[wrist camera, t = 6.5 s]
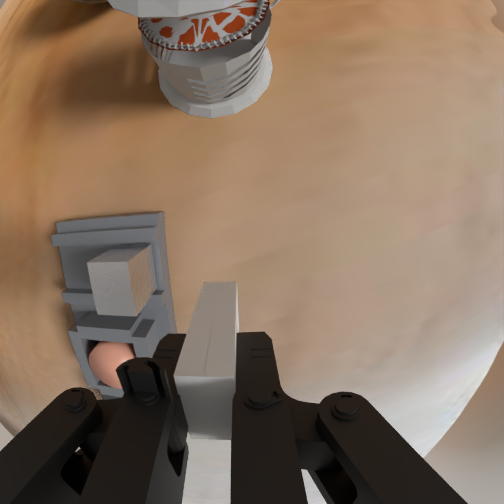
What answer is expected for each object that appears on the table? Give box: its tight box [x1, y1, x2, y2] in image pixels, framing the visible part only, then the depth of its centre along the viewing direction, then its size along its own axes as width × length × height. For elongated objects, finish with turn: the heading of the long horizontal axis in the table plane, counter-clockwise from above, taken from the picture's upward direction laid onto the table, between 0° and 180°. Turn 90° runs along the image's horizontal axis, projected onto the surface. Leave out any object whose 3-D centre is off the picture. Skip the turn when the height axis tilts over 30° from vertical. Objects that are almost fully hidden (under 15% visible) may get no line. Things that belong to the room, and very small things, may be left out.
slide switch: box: [87, 244, 157, 316], centre depth 18 cm, size 3×4×5 cm
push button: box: [89, 341, 137, 389], centre depth 20 cm, size 4×4×3 cm
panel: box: [51, 211, 177, 400], centre depth 22 cm, size 10×24×5 cm, turn 1°
